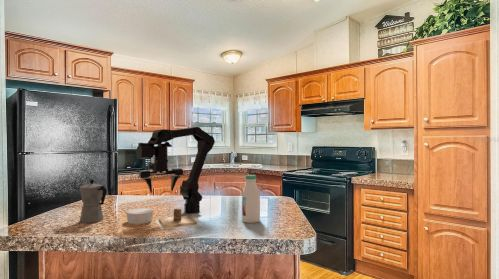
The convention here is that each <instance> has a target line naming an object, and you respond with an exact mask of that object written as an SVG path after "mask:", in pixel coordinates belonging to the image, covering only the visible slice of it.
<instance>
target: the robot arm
mask: <svg viewBox="0 0 499 279" xmlns="http://www.w3.org/2000/svg"><path fill="white" fill-rule="evenodd" d="M188 136H189V137H190V136H192V137H193V139H194V140H195V141H196V142H197V145H196V147H197V152H196V156H195V158H194V160H193V161H194V162H193V164H192V167H191V169H190V172H189V176H188V178H187V179H186V180H184V179H183V180H182V183H181V186H180V187H179V189H180V190H179V192H180V195H181V196H182V198H183V200H184V201H185V202H184V204H183V205H184V206H183V207H184V208H183V210H184V214H185V213H186V214H187V215H190V214H200V213H201V211H200V210H201V209H200V204H201V203H200V202H202V199H203V195H202V194H201V193H200V192H199V189H200V188H199V187H200V186H199V179H200V176H201V173H202V171H203V167H204V164H205V161H206V159H207V156H208V154H209V152H210V151H211V150H213V147H214V145H215V143H216V140H215V138H214V136H213V135H210V134H209V133H208V132H206V131H205V130H203V129H202V128H201V127H199V126H191V127H186V128H185V127H184V128H178V129H164V128H163V129H161V128H160V129H154V130H153V132H152V134H151V137H150V138H149V140H148V141H147V142H138V143H137V144H138V145H137V147H136V151H135V155H136V157H137V159H138V160H139V159H140V160H141V159H152V158H153V157H154V159H153V162H147V169H144V170H139V171H138V178H139V179H142V180H143V181H145V183H146V185H147V188H148V190H149V193H150V194H152V193H153V186H152V178H151V177H152V176H163V175H166V176H167V175H170V180H171V182H170V183H171V184H170V191H171V192H173V191H174V189H175V186H176V183H177V181H178V179H179V178H181V177H182V176H184V170H183V168H180V167H177V168H175V167H174V168H171V170H169V167H168V166H169V165H168V163H169V158H168V155H169V154H168V148H171V147H173V145H172V144H170V142H169V141H171V140H174V139H176V138H181V137H182V138H183V137H188Z"/></svg>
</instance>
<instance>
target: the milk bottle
mask: <svg viewBox="0 0 499 279" xmlns="http://www.w3.org/2000/svg"><path fill="white" fill-rule="evenodd" d="M245 181H246V182H245V185H244V188H243V191H242V197H241V198H242V202H241V204H242V205H241V207H242V208H241V212H242V214H241V216H242V217H241V218H242V221H243V223H246V224H254V223H256V224H257V223H260V221H261V197H260V196H261V194H260V190H259V187H258V185H257V175H256V174H247V175H245Z"/></svg>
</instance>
